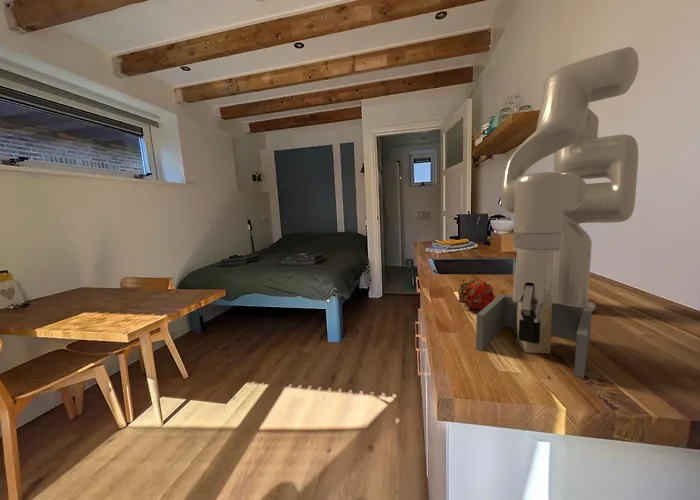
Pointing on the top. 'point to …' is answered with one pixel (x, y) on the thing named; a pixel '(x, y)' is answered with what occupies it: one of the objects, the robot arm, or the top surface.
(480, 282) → the dragon fruit
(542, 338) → the box
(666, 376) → the top surface
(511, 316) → the u-shaped wall
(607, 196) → the robot arm
